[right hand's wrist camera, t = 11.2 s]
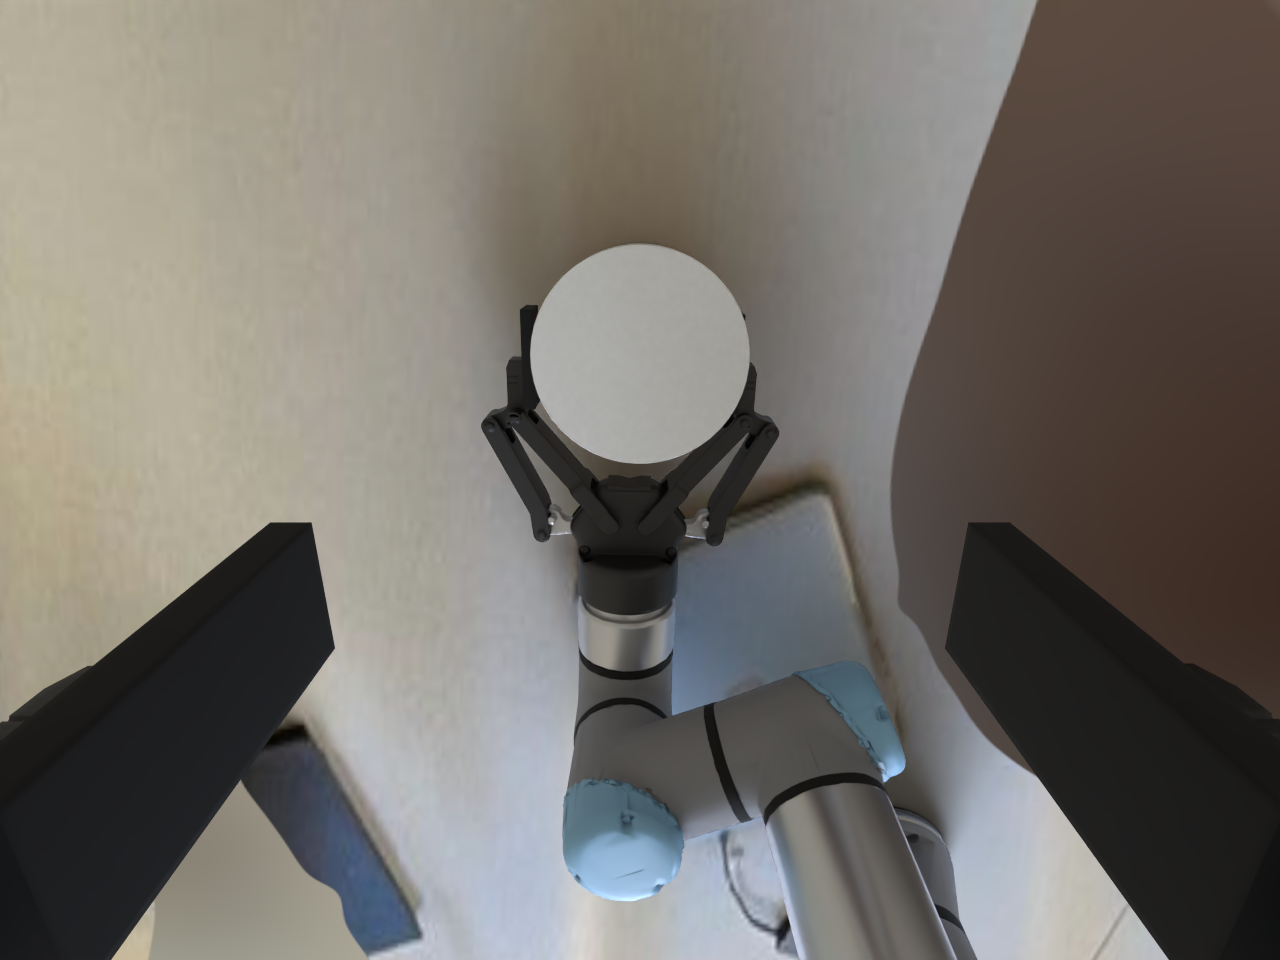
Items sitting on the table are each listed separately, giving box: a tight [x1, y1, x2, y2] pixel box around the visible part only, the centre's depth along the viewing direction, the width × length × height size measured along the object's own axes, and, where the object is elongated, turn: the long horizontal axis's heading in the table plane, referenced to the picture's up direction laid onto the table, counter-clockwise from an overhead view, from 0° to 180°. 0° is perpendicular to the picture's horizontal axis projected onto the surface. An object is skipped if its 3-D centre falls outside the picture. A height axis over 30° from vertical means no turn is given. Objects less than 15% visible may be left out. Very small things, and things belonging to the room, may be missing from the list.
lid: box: [530, 244, 750, 464], centre depth 35 cm, size 11×11×2 cm
